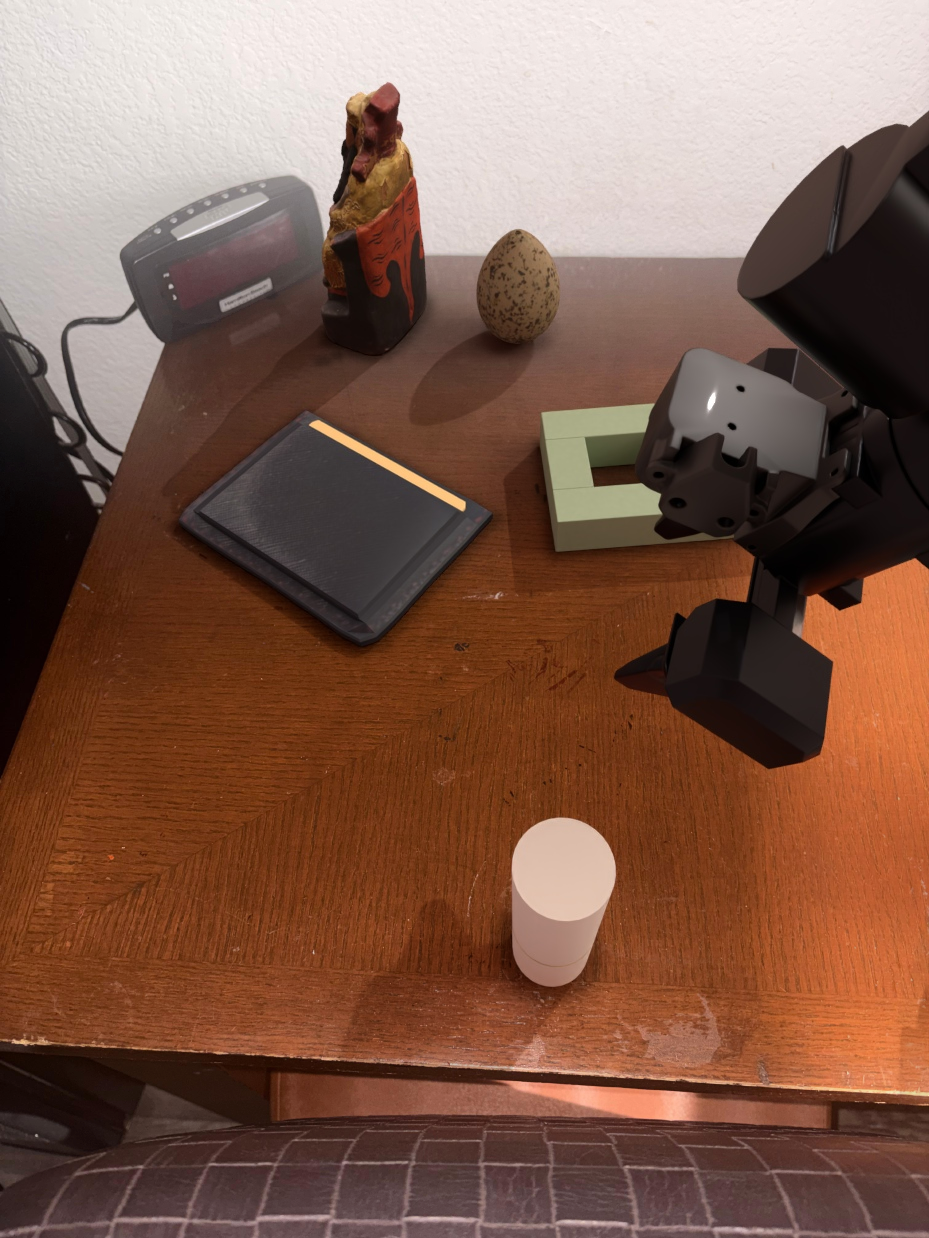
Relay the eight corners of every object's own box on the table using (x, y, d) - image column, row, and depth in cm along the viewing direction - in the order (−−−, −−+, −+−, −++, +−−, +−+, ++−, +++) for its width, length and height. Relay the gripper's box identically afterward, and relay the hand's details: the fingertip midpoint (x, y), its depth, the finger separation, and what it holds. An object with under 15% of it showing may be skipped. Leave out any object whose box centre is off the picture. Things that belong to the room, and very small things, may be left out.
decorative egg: (472, 359, 74) (467, 257, 66) (484, 307, 78) (480, 204, 70) (553, 364, 73) (558, 261, 65) (561, 311, 77) (567, 208, 69)
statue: (374, 275, 81) (337, 45, 65) (444, 299, 79) (425, 66, 62) (299, 351, 76) (238, 120, 59) (372, 379, 74) (330, 147, 57)
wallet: (166, 506, 64) (307, 394, 70) (175, 522, 66) (312, 411, 72) (357, 644, 57) (497, 505, 63) (361, 658, 58) (498, 521, 64)
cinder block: (539, 444, 68) (540, 411, 65) (774, 425, 68) (786, 392, 65) (555, 552, 62) (557, 522, 59) (813, 532, 62) (827, 501, 59)
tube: (566, 1002, 46) (585, 942, 33) (498, 959, 47) (492, 885, 35) (602, 932, 48) (633, 850, 35) (535, 892, 49) (543, 799, 37)
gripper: (814, 161, 32) (565, 382, 44) (738, 539, 22) (450, 683, 35) (995, 341, 35) (716, 499, 48) (995, 734, 26) (648, 801, 38)
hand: (641, 602), depth 42 cm, fingers open, 9 cm apart
